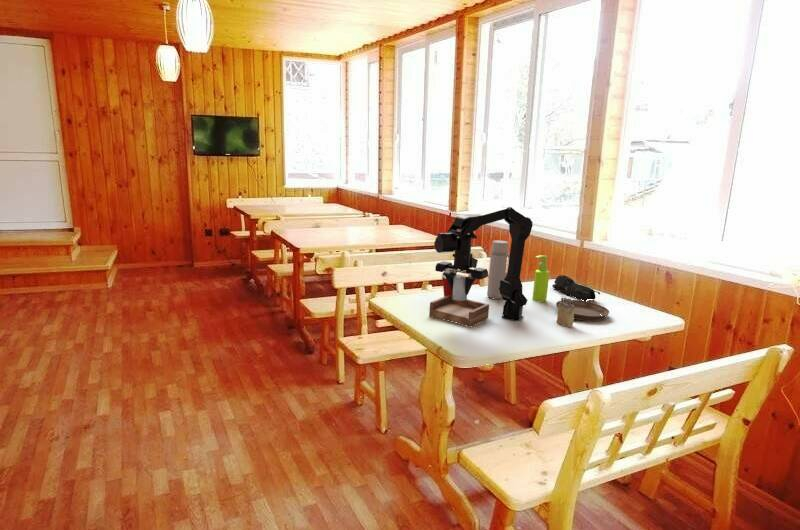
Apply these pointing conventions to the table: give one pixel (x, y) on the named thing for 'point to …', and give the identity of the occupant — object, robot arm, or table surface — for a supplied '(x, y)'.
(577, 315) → the plant saucer
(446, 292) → the plastic cup
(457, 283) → the grey rounded cone
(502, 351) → the table surface
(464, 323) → the wooden tray
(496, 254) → the water bottle
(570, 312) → the tan upright block
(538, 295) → the soap dispenser
